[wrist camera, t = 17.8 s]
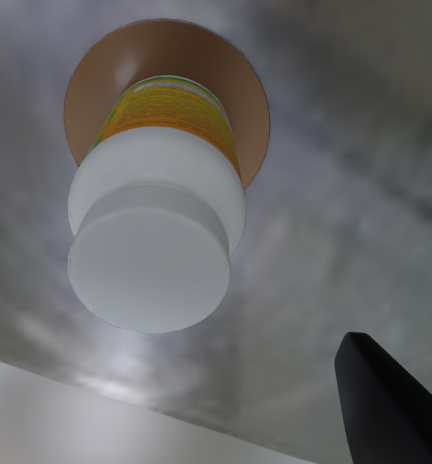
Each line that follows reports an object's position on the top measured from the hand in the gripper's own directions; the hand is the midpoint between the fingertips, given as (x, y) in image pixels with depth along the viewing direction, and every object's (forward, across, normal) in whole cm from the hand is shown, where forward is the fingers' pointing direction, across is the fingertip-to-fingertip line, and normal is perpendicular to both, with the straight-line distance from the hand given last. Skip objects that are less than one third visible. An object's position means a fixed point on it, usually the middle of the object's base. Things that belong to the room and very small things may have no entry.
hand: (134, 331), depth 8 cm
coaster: (+12, 0, 0) cm, 12 cm away
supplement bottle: (+12, 0, 0) cm, 12 cm away
